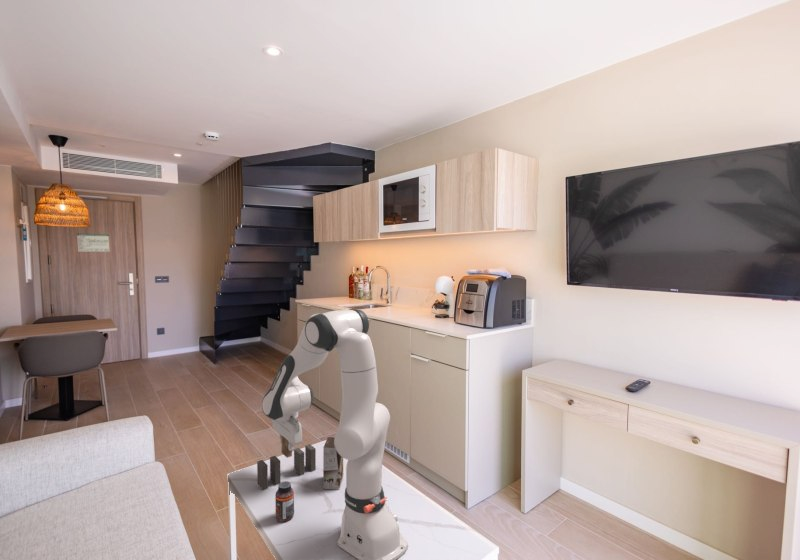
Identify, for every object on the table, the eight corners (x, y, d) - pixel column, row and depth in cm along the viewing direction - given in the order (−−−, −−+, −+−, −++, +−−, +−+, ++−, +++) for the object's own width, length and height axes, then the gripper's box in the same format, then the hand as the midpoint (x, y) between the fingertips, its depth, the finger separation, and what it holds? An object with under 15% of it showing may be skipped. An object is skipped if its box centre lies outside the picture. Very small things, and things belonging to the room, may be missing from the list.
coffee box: (339, 489, 147) (339, 447, 146) (322, 489, 148) (322, 447, 147) (343, 476, 156) (343, 436, 156) (327, 475, 157) (327, 436, 156)
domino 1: (267, 488, 148) (267, 465, 147) (262, 490, 147) (262, 466, 146) (262, 482, 152) (262, 459, 151) (257, 484, 150) (257, 461, 150)
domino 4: (304, 474, 158) (304, 452, 157) (299, 476, 156) (299, 454, 156) (298, 469, 161) (298, 447, 161) (294, 470, 160) (293, 449, 160)
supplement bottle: (272, 516, 132) (272, 483, 131) (289, 508, 136) (289, 477, 135) (280, 525, 128) (279, 491, 127) (297, 517, 131) (296, 484, 131)
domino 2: (280, 483, 151) (280, 460, 151) (275, 485, 150) (275, 462, 149) (275, 477, 155) (274, 455, 154) (270, 479, 154) (270, 457, 153)
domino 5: (315, 470, 161) (315, 448, 160) (311, 471, 160) (311, 450, 159) (309, 465, 165) (309, 444, 164) (305, 466, 163) (305, 445, 163)
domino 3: (291, 456, 154) (291, 433, 153) (287, 457, 153) (287, 435, 152) (286, 451, 158) (286, 429, 157) (281, 452, 156) (281, 430, 156)
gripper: (306, 418, 148) (306, 454, 149) (283, 402, 164) (283, 435, 165) (290, 423, 144) (290, 459, 145) (268, 406, 160) (268, 439, 160)
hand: (286, 446), depth 155 cm, fingers closed on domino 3, 5 cm apart
